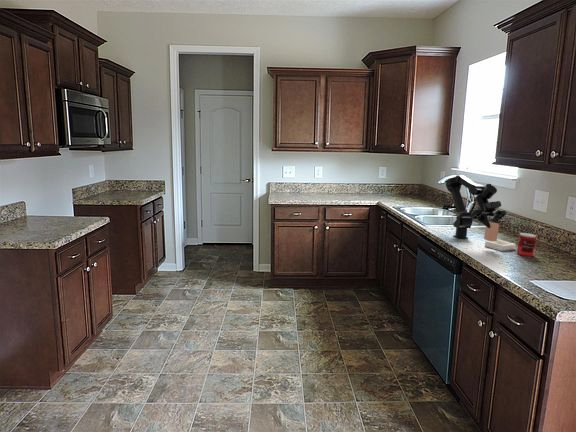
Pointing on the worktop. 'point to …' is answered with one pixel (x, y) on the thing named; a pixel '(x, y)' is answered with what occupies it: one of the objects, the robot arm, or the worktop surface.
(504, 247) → the tray
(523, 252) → the canned food
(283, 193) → the worktop surface
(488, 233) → the terracotta block
